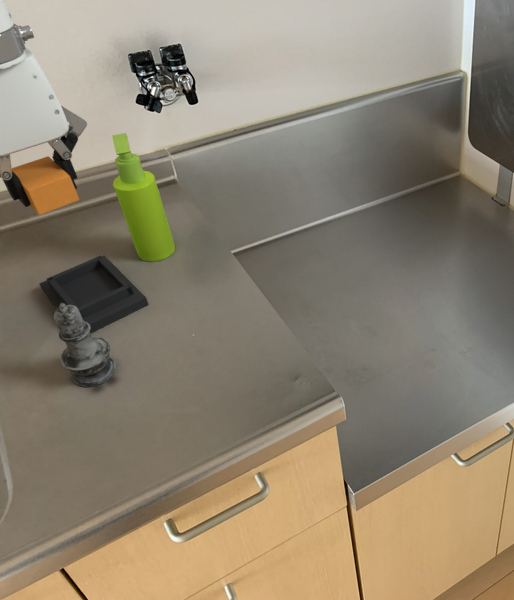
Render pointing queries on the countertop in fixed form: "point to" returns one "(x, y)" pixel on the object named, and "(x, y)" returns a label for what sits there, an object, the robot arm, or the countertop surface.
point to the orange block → (46, 185)
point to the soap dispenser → (141, 204)
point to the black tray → (95, 292)
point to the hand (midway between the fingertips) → (47, 192)
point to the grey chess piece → (83, 349)
